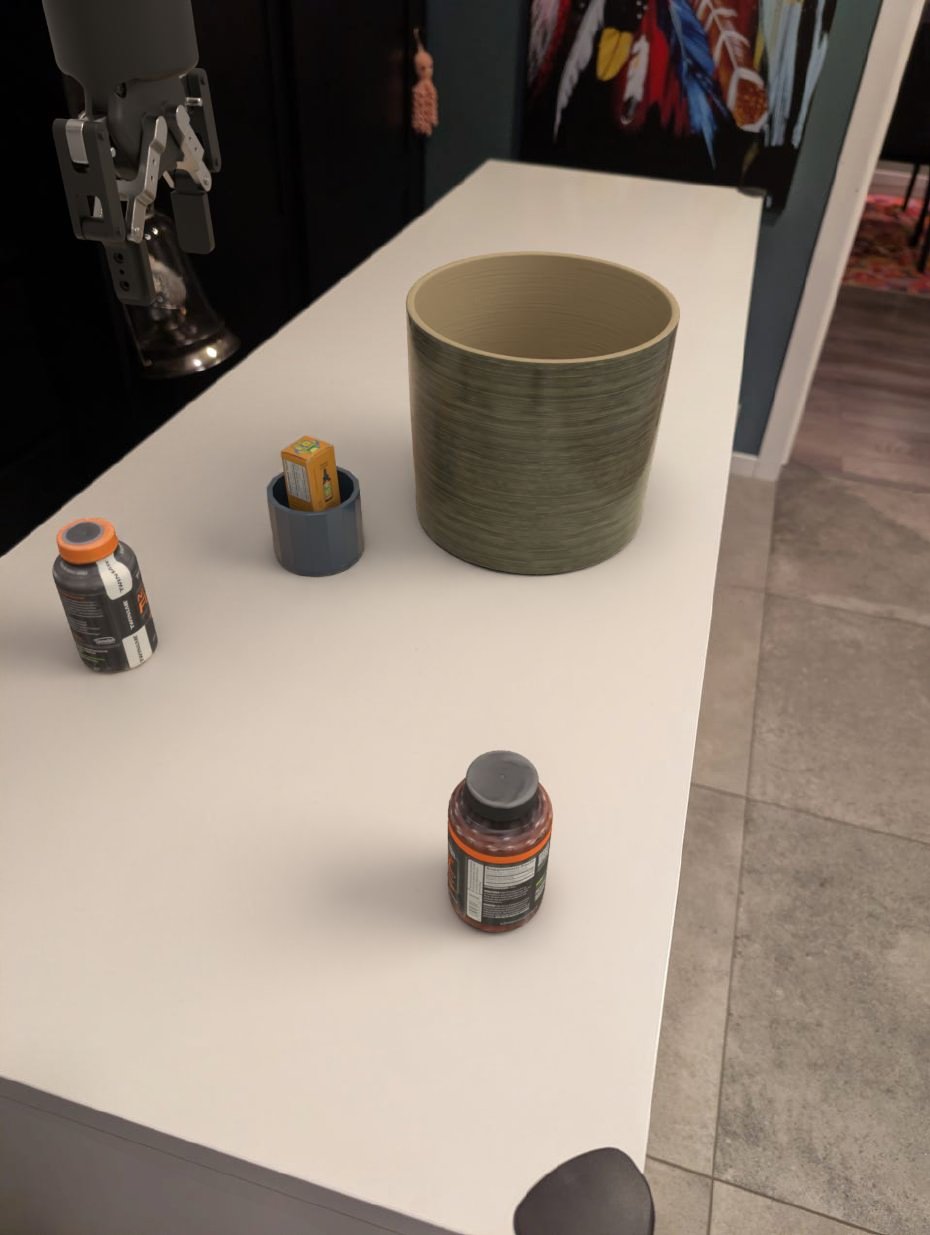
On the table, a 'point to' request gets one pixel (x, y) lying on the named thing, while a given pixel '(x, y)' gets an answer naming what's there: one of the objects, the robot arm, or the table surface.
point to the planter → (536, 405)
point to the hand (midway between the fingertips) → (169, 276)
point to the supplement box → (311, 475)
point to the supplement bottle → (498, 842)
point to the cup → (317, 529)
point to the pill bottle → (103, 596)
